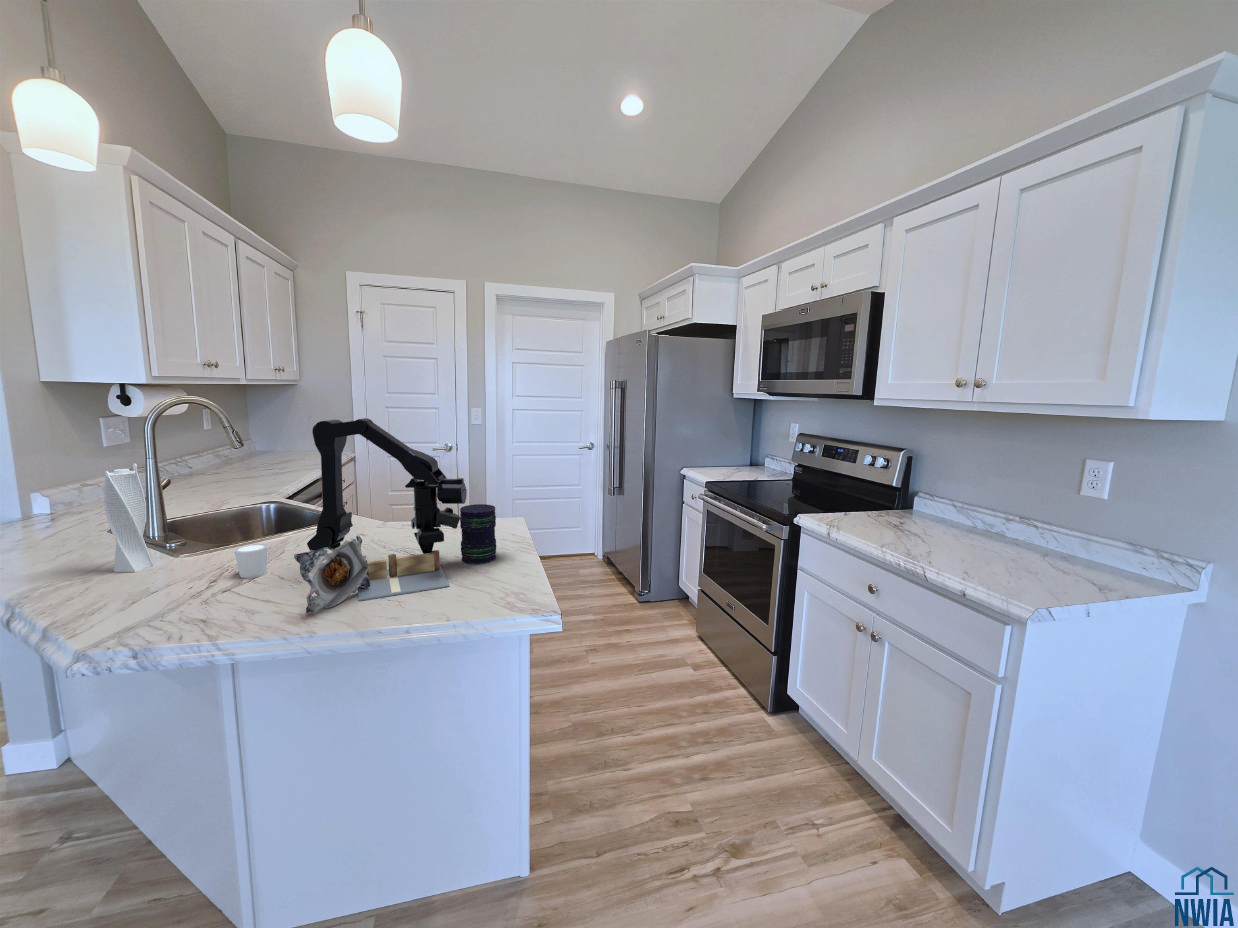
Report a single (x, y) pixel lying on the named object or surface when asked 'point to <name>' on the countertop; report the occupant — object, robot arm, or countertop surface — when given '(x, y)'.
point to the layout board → (403, 584)
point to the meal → (333, 573)
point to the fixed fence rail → (377, 569)
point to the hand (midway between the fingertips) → (428, 559)
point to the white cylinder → (251, 560)
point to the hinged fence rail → (413, 563)
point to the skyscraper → (127, 519)
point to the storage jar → (478, 533)
